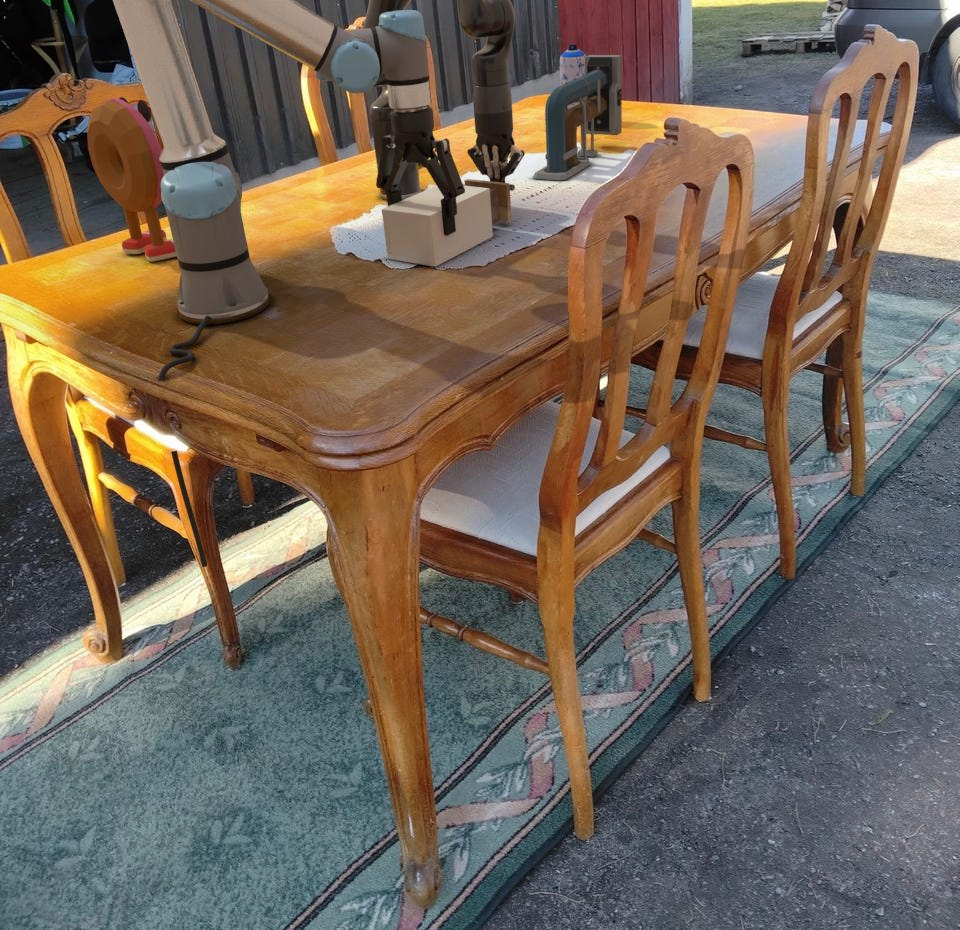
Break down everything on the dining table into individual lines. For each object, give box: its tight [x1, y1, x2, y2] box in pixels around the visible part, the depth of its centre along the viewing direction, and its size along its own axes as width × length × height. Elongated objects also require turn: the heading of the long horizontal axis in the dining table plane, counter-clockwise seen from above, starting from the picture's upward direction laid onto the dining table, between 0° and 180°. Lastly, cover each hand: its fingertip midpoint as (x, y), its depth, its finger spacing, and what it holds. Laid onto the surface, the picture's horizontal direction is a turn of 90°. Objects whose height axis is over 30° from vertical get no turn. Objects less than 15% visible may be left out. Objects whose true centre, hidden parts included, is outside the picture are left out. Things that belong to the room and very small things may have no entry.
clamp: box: [532, 54, 623, 181], centre depth 230 cm, size 35×9×21 cm, turn 151°
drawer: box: [463, 178, 516, 226], centre depth 192 cm, size 23×10×7 cm, turn 145°
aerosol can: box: [559, 43, 587, 109], centre depth 273 cm, size 8×8×20 cm
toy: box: [86, 96, 177, 263], centre depth 189 cm, size 21×10×30 cm, turn 47°
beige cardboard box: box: [381, 185, 494, 267], centre depth 184 cm, size 19×11×10 cm, turn 145°
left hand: (423, 229), depth 181 cm, fingers closed on beige cardboard box, 11 cm apart
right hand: (498, 196), depth 198 cm, fingers closed
